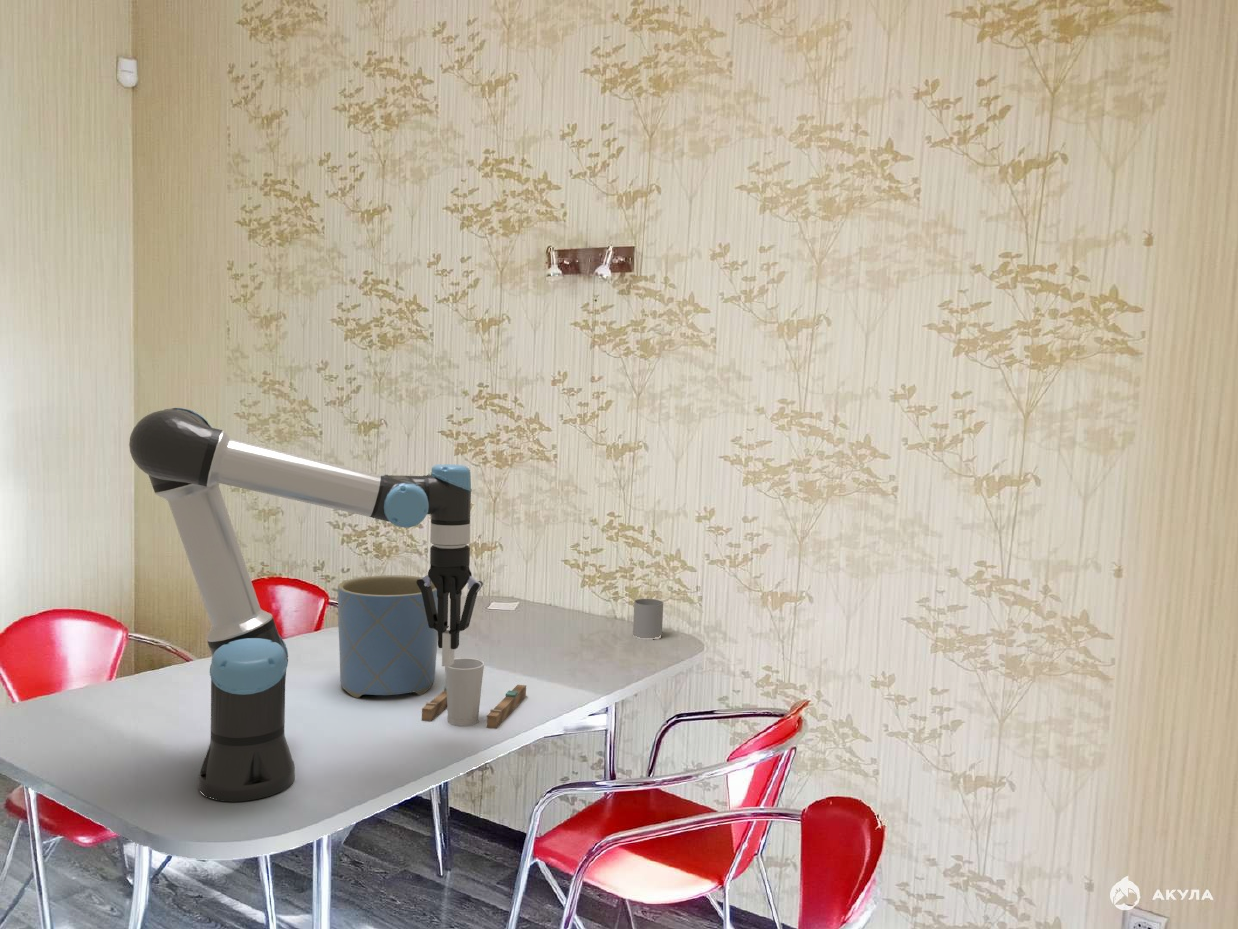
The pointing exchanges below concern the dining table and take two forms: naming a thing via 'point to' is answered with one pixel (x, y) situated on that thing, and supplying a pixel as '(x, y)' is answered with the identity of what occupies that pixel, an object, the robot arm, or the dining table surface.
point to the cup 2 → (648, 618)
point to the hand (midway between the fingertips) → (448, 664)
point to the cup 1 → (464, 691)
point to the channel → (495, 714)
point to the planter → (385, 636)
